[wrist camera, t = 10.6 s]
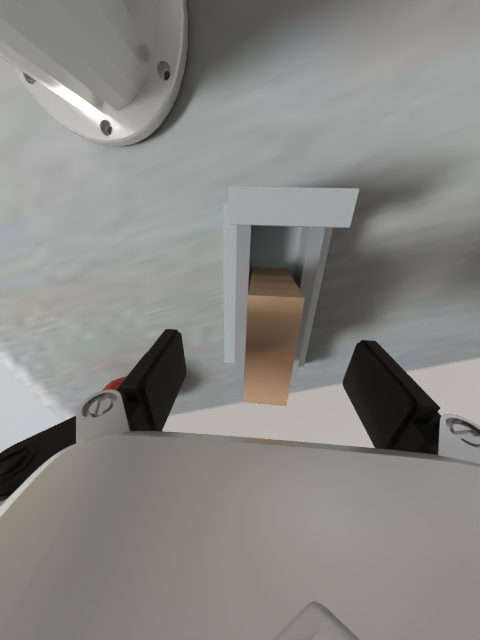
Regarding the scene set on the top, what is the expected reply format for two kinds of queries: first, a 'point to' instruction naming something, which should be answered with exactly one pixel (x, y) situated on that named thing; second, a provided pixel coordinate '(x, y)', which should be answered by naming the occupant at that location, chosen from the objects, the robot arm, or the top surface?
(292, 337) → the door slab
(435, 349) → the top surface
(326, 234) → the track
